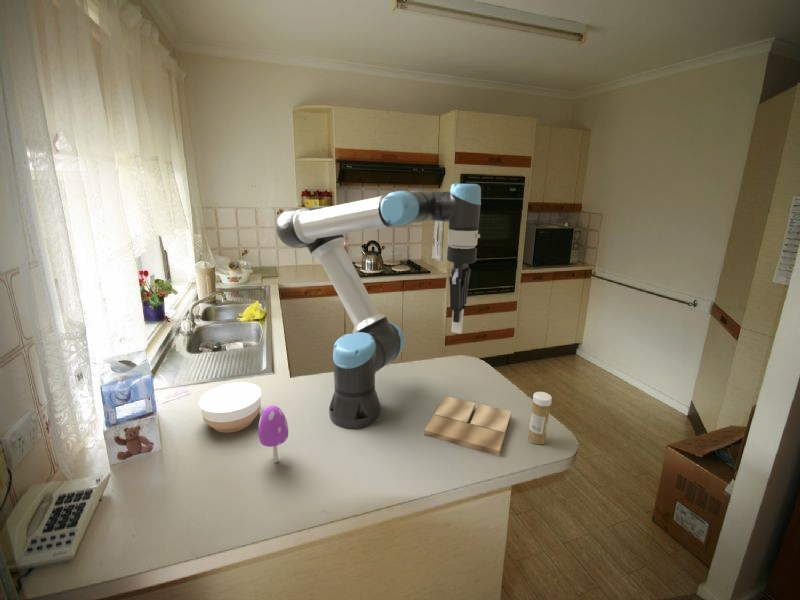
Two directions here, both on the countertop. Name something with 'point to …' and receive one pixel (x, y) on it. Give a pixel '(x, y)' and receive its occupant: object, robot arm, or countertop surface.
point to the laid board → (465, 434)
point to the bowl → (231, 406)
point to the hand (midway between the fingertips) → (456, 331)
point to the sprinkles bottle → (539, 417)
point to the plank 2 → (491, 418)
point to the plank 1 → (455, 409)
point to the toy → (273, 429)
